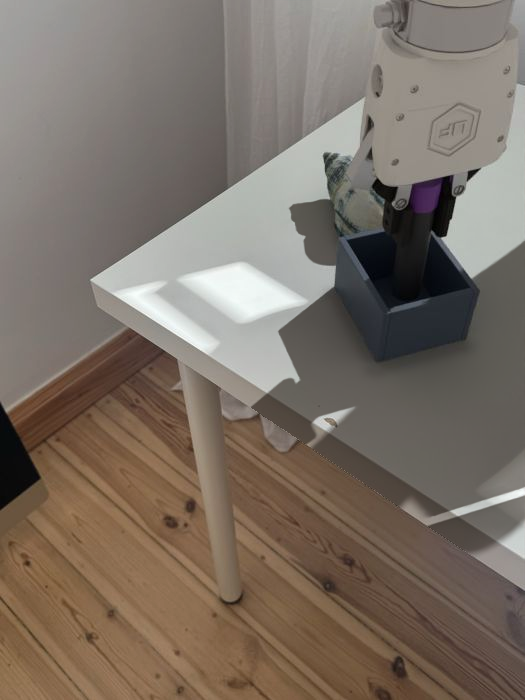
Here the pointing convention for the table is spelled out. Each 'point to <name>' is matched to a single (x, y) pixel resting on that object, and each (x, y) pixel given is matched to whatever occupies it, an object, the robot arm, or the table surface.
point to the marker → (416, 241)
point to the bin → (393, 314)
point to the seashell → (351, 199)
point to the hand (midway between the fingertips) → (415, 230)
